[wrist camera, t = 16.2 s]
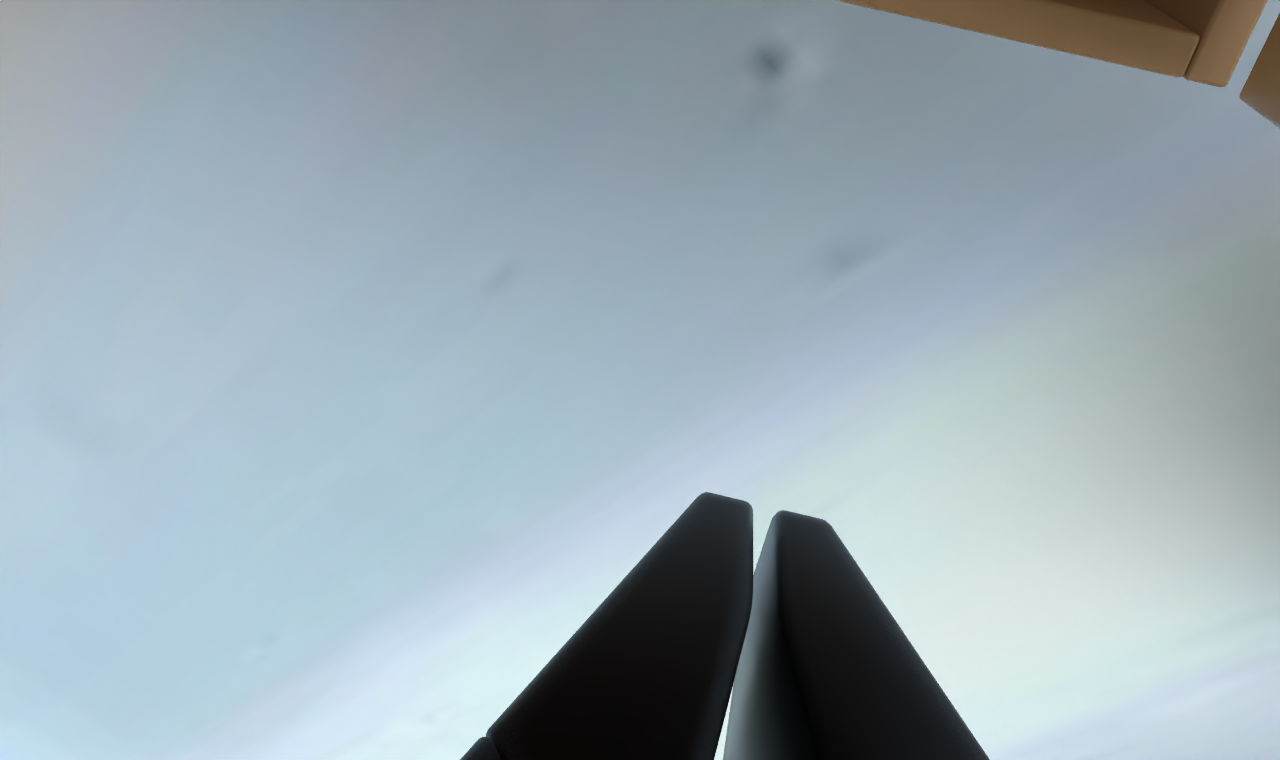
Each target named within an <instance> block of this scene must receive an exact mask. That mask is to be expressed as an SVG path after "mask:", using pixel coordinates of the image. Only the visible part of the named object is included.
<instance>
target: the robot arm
mask: <svg viewBox="0 0 1280 760" xmlns="http://www.w3.org/2000/svg"><path fill="white" fill-rule="evenodd" d="M733 683H734V686H733ZM732 687H733V693H732V700H731V707H730V714H729V721H728V728H727V735H726V742H725V749H724V756H723V760H990V759H989V758H988V756H987V755H986V754H985V752H984V751H983V749H982V748H981V746H980V745H979V743H978V742H977V740H976V739H975V737H974V736H973V734H972V733H971V731H970V730H969V728H968V727H967V725H966V724H965V723H964V721H963V720H962V718H961V717H960V715H959V714H958V712H957V711H956V709H955V708H954V706H953V705H952V703H951V702H950V700H949V699H948V697H947V696H946V695H945V693H944V692H943V690H942V689H941V687H940V686H939V684H938V683H937V681H936V680H935V678H934V677H933V675H932V674H931V672H930V671H929V669H928V668H927V666H926V665H925V664H924V662H923V661H922V659H921V658H920V656H919V655H918V653H917V652H916V650H915V649H914V647H913V646H912V644H911V643H910V641H909V640H908V638H907V637H906V635H905V634H904V633H903V631H902V630H901V628H900V627H899V625H898V624H897V622H896V621H895V619H894V618H893V616H892V615H891V613H890V612H889V610H888V609H887V607H886V606H885V605H884V603H883V602H882V600H881V599H880V597H879V596H878V594H877V593H876V591H875V590H874V588H873V587H872V585H871V584H870V582H869V581H868V579H867V578H866V576H865V575H864V574H863V572H862V571H861V569H860V568H859V566H858V565H857V563H856V562H855V560H854V559H853V557H852V556H851V554H850V553H849V551H848V550H847V548H846V547H845V546H844V544H843V543H842V541H841V540H840V538H839V537H838V535H837V534H836V532H835V531H834V529H833V528H832V526H831V525H830V524H829V523H828V522H826V521H825V520H823V519H819V518H815V517H810V516H806V515H802V514H798V513H793V512H789V511H783V510H782V511H779V512H777V513H776V514H775V516H774V517H773V519H772V521H771V524H770V526H769V529H768V532H767V535H766V539H765V542H764V545H763V548H762V551H761V554H760V557H759V560H758V563H757V566H756V569H755V572H754V576H753V509H752V506H751V505H750V504H749V503H748V502H746V501H743V500H738V499H734V498H730V497H726V496H722V495H718V494H713V493H708V492H705V493H702V494H701V495H699V496H698V497H697V498H696V499H695V500H694V502H693V503H692V504H691V505H690V506H689V507H688V508H687V509H686V510H685V512H684V513H683V514H682V515H681V516H680V517H679V518H678V519H677V520H676V522H675V523H674V524H673V525H672V526H671V527H670V528H669V529H668V530H667V532H666V533H665V534H664V535H663V536H662V537H661V538H660V539H659V540H658V542H657V543H656V544H655V545H654V546H653V547H652V548H651V549H650V550H649V552H648V553H647V554H646V555H645V556H644V557H643V558H642V559H641V560H640V562H639V563H638V564H637V565H636V566H635V567H634V568H633V569H632V570H631V572H630V573H629V574H628V575H627V576H626V577H625V578H624V579H623V580H622V582H621V583H620V584H619V585H618V586H617V587H616V588H615V589H614V590H613V592H612V593H611V594H610V595H609V596H608V597H607V598H606V599H605V600H604V602H603V603H602V604H601V605H600V606H599V607H598V608H597V609H596V610H595V612H594V613H593V614H592V615H591V616H590V617H589V618H588V619H587V620H586V621H585V623H584V624H583V625H582V626H581V627H580V628H579V629H578V630H577V631H576V633H575V634H574V635H573V636H572V637H571V638H570V639H569V640H568V641H567V643H566V644H565V645H564V646H563V647H562V648H561V649H560V650H559V651H558V653H557V654H556V655H555V656H554V657H553V658H552V659H551V660H550V661H549V663H548V664H547V665H546V666H545V667H544V668H543V669H542V670H541V671H540V673H539V674H538V675H537V676H536V677H535V678H534V679H533V680H532V681H531V683H530V684H529V685H528V686H527V687H526V688H525V689H524V690H523V691H522V693H521V694H520V695H519V696H518V697H517V698H516V699H515V700H514V701H513V703H512V704H511V705H510V706H509V707H508V708H507V709H506V710H505V711H504V713H503V714H502V715H501V716H500V717H499V718H498V719H497V720H496V721H495V723H494V724H493V725H492V726H491V727H490V728H489V729H488V731H487V733H486V737H482V738H480V739H479V740H478V741H477V742H476V743H475V744H474V745H473V746H472V747H471V748H470V749H469V751H468V752H467V753H466V754H465V755H464V756H463V757H462V758H461V759H460V760H714V757H715V753H716V749H717V745H718V741H719V737H720V733H721V730H722V726H723V722H724V718H725V714H726V710H727V706H728V702H729V698H730V694H731V690H732Z"/></svg>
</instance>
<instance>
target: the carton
mask: <svg viewBox="0 0 1280 760" xmlns="http://www.w3.org/2000/svg"><path fill="white" fill-rule="evenodd" d="M837 1H842V2H846V3H851V4H855V5H859V6H864V7H868V8H873V9H877V10H881V11H886V12H890V13H895V14H899V15H904V16H908V17H912V18H917V19H921V20H926V21H930V22H934V23H939V24H943V25H948V26H952V27H957V28H961V29H965V30H970V31H974V32H979V33H983V34H987V35H992V36H996V37H1001V38H1005V39H1010V40H1014V41H1018V42H1023V43H1027V44H1032V45H1036V46H1040V47H1045V48H1049V49H1054V50H1058V51H1063V52H1067V53H1071V54H1076V55H1080V56H1085V57H1089V58H1093V59H1098V60H1102V61H1107V62H1111V63H1116V64H1120V65H1124V66H1129V67H1133V68H1138V69H1142V70H1146V71H1151V72H1155V73H1160V74H1164V75H1169V76H1173V77H1182V76H1183V77H1184V78H1186V79H1187V80H1191V81H1195V82H1199V83H1204V84H1208V85H1213V86H1217V87H1223V86H1226V84H1227V83H1228V81H1229V79H1230V77H1231V75H1232V73H1233V71H1234V69H1235V66H1236V64H1237V62H1238V60H1239V58H1240V56H1241V54H1242V52H1243V50H1244V48H1245V46H1246V44H1247V41H1248V39H1249V37H1250V35H1251V33H1252V31H1253V29H1254V27H1255V25H1256V23H1257V21H1258V19H1259V16H1260V14H1261V12H1262V10H1263V8H1264V6H1265V4H1266V2H1267V0H837Z"/></svg>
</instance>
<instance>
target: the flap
mask: <svg viewBox="0 0 1280 760" xmlns="http://www.w3.org/2000/svg"><path fill="white" fill-rule="evenodd" d="M1240 99H1241V100H1242V101H1244V102H1245V103H1246V104H1248V105H1249V106H1250V107H1252V108H1253V109H1254V110H1256V111H1257V112H1259V113H1260V114H1261V115H1263V116H1264V117H1265V118H1267V119H1268V120H1269V121H1271V122H1272V123H1273V124H1275V125H1276V126H1277V127H1279V128H1280V14H1279V16H1278V18H1277V20H1276V22H1275V24H1274V26H1273V28H1272V30H1271V32H1270V34H1269V36H1268V38H1267V40H1266V42H1265V44H1264V46H1263V48H1262V50H1261V52H1260V54H1259V56H1258V58H1257V61H1256V63H1255V65H1254V67H1253V69H1252V71H1251V73H1250V75H1249V77H1248V79H1247V81H1246V83H1245V85H1244V87H1243V89H1242V91H1241V93H1240Z"/></svg>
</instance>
